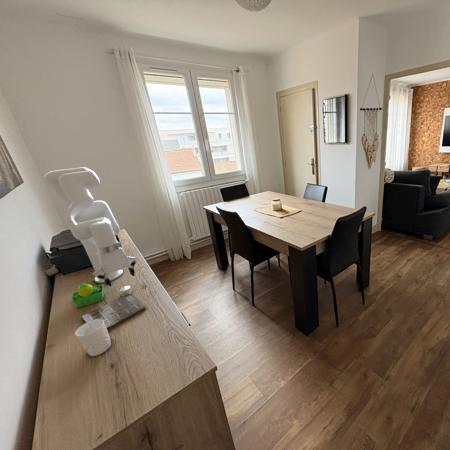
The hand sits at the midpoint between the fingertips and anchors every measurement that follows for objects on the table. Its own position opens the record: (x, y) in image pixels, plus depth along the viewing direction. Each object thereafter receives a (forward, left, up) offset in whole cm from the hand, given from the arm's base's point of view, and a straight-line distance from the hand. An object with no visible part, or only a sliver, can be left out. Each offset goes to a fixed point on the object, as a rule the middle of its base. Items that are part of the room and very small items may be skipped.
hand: (121, 280), depth 114 cm
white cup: (+28, -19, -8) cm, 35 cm away
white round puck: (-1, 0, -8) cm, 8 cm away
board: (+11, -9, -8) cm, 17 cm away
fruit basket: (-9, -12, -8) cm, 17 cm away
